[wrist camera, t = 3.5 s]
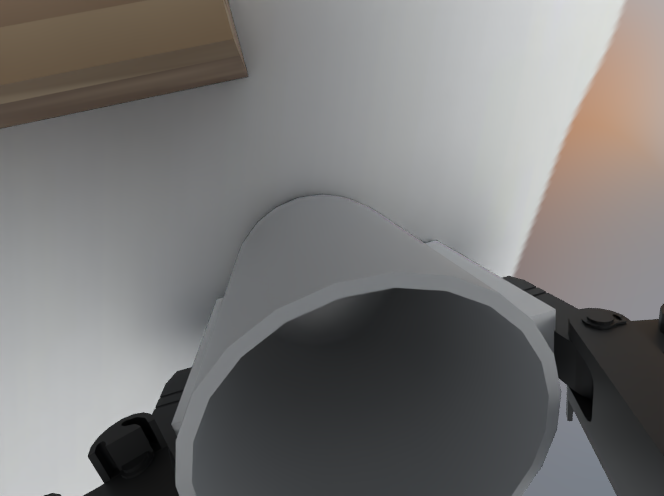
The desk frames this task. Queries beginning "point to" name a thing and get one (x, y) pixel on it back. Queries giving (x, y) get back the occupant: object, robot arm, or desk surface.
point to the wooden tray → (109, 53)
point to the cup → (363, 369)
